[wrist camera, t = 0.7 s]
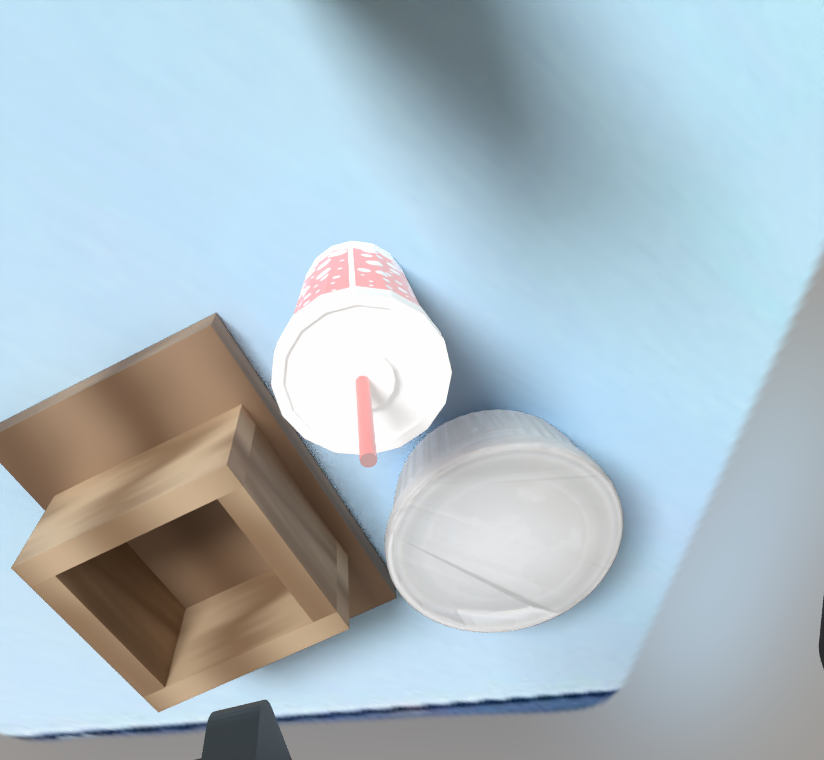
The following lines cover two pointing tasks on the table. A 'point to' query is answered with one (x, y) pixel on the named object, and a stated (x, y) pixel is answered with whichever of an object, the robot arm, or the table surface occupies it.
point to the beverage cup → (359, 356)
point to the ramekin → (500, 523)
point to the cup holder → (186, 519)
